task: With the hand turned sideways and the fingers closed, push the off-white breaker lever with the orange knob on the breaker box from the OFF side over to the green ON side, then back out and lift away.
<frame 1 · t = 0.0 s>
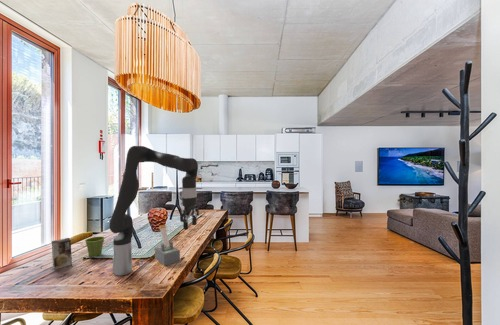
hand: (190, 227, 132), 29 cm above the table, tool pointing down, fingers open, 8 cm apart
coffee box: (62, 266, 157), on the table
plant pot: (95, 255, 174), on the table
breaker lever: (164, 236, 165), point 14 cm above the table, hinge at -33.0°
breaker box: (167, 259, 163), on the table
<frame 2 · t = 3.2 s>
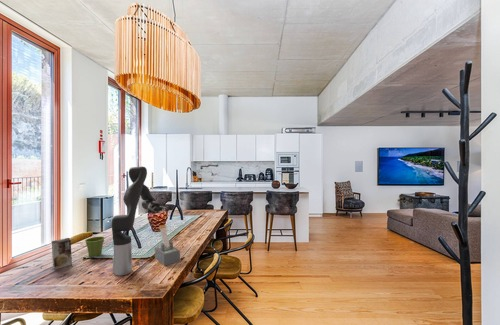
hand: (161, 211, 170), 30 cm above the table, tool horizontal, fingers open, 8 cm apart
nothing on the table moved.
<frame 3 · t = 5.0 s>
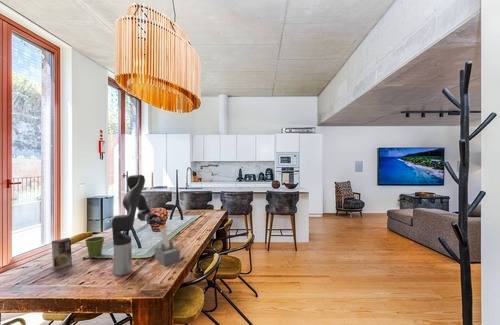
hand: (160, 223, 171), 22 cm above the table, tool horizontal, fingers closed
nothing on the table moved.
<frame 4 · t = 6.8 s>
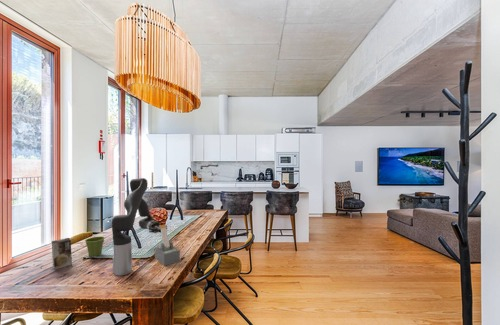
hand: (163, 231, 167), 17 cm above the table, tool horizontal, fingers closed
breaker lever: (164, 236, 165), point 15 cm above the table, hinge at -30.2°, touching gripper
everything else where it was.
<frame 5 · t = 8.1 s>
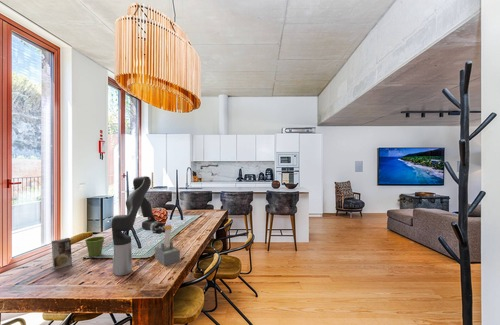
hand: (167, 231, 161), 19 cm above the table, tool horizontal, fingers closed
breaker lever: (167, 236, 161), point 15 cm above the table, hinge at 12.6°, touching gripper
everything else where it was.
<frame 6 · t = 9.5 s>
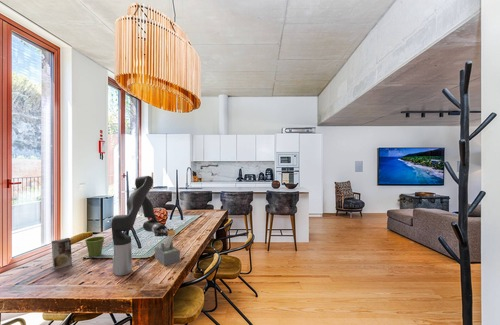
hand: (169, 235, 159), 17 cm above the table, tool horizontal, fingers closed
breaker lever: (169, 239, 159), point 14 cm above the table, hinge at 37.9°, touching gripper
everything else where it was.
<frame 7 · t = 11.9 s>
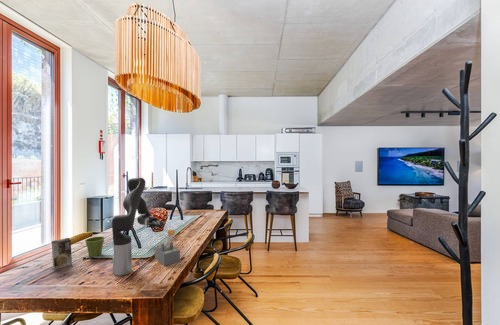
hand: (160, 226, 171), 20 cm above the table, tool horizontal, fingers closed
breaker lever: (169, 239, 159), point 14 cm above the table, hinge at 36.9°
everything else where it was.
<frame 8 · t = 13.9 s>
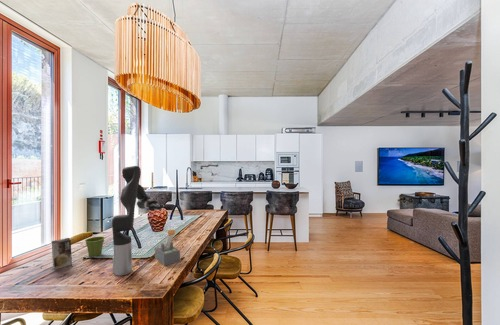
hand: (159, 208, 170), 32 cm above the table, tool horizontal, fingers closed
nothing on the table moved.
at the end: breaker lever at +37° (first picture: -33°) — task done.
